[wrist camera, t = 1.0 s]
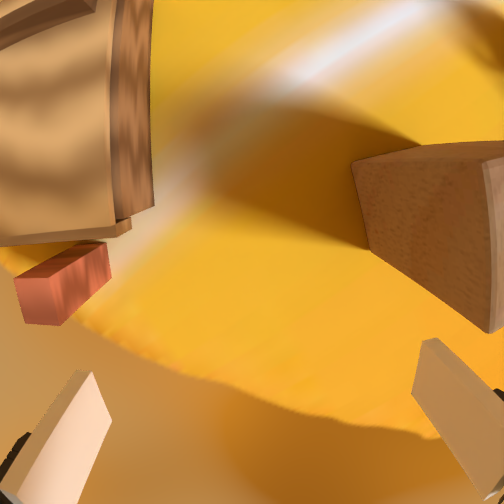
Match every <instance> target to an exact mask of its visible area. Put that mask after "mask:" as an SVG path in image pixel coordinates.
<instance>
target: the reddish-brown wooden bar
mask: <svg viewBox="0 0 504 504" xmlns="http://www.w3.org/2000/svg"><path fill="white" fill-rule="evenodd" d="M111 278H112V277H111V271H110V264H109V258H108V251H107V244H106V243H95V244H81V245H75V246H73V247H71V248H69V249H67V250H65V251H63V252H61V253H59V254H57V255H56V256H54V257H52V258H50V259H48V260H46V261H44V262H42V263H41V264H39V265H37V266H35V267H33V268H31V269H30V270H28V271H26V272H24V273H22V274H21V275H19V276H17V277H15V278H14V283H15V287H16V291H17V295H18V299H19V303H20V307H21V310H22V314H23V317H24V321H25V323H27V324H40V325H54V326H61V325H62V324H63V323H64V321H66V320H67V319H68V318H69V317H70V316H71V315H72V314H73V313H74V312H75V311H76V310H77V309H78V308H79V307H80V306H81V305H83V304H84V303H85V302H86V301H87V300H88V299H89V298H90V297H91V296H92V295H93V294H94V293H96V292H97V291H98V290H99V289H100V288H101V287H102V286H103V285H104V284H105V283H107V282H108V281H109V280H110V279H111Z"/></svg>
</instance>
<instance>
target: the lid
mask: <svg viewBox="0 0 504 504" xmlns="http://www.w3.org/2000/svg"><path fill="white" fill-rule="evenodd" d="M116 4H117V0H2V1H1V2H0V247H6V246H17V245H28V244H39V243H51V242H63V241H75V240H88V239H102V238H115V237H118V236H120V235H122V234H124V233H125V232H127V231H129V230H131V229H132V225H131V217H128V218H124V219H116V220H115V213H114V202H113V190H112V176H111V157H110V72H111V55H112V41H113V30H114V21H115V12H116Z"/></svg>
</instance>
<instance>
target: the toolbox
mask: <svg viewBox="0 0 504 504" xmlns="http://www.w3.org/2000/svg"><path fill="white" fill-rule="evenodd" d="M153 2H154V0H117V4H116V12H115V21H114V30H113V41H112V55H111V72H110V157H111V176H112V190H113V202H114V213H115V220H116V219H124V218H127V217H129V216H131V215H134V214H136V213H138V212H141V211H143V210H146V209H148V208H150V207H153V206H155V205H154V192H153V177H152V159H151V133H150V56H151V32H152V16H153Z"/></svg>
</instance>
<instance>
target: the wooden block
mask: <svg viewBox="0 0 504 504" xmlns="http://www.w3.org/2000/svg"><path fill="white" fill-rule="evenodd" d="M351 169H352V173H353V177H354V181H355V185H356V189H357V193H358V197H359V201H360V205H361V210H362V214H363V219H364V223H365V228H366V233H367V238H368V243H369V248H370V251H371V252H372V253H373V254H375V255H376V256H378V257H379V258H381V259H382V260H384V261H385V262H387V263H388V264H390V265H391V266H393V267H394V268H396V269H397V270H399V271H400V272H402V273H403V274H405V275H406V276H408V277H409V278H411V279H412V280H413V281H415V282H416V283H418V284H419V285H421V286H422V287H424V288H425V289H426V290H428V291H429V292H431V293H432V294H433V295H435V296H436V297H438V298H439V299H440V300H442V301H443V302H445V303H446V304H447V305H449V306H450V307H451V308H453V309H454V310H456V311H457V312H458V313H460V314H461V315H462V316H464V317H465V318H466V319H468V320H469V321H470V322H472V323H473V324H474V325H476V326H477V327H478V328H480V329H481V330H482V331H483V332H485V333H488V334H490V333H494V332H495V331H497V330H498V329H500V328H502V327H503V326H504V140H502V141H476V142H459V143H445V144H432V145H422V146H418V147H413V148H409V149H404V150H400V151H395V152H391V153H387V154H382V155H378V156H374V157H370V158H366V159H362V160H358V161H354V162H353V163H351Z"/></svg>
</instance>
